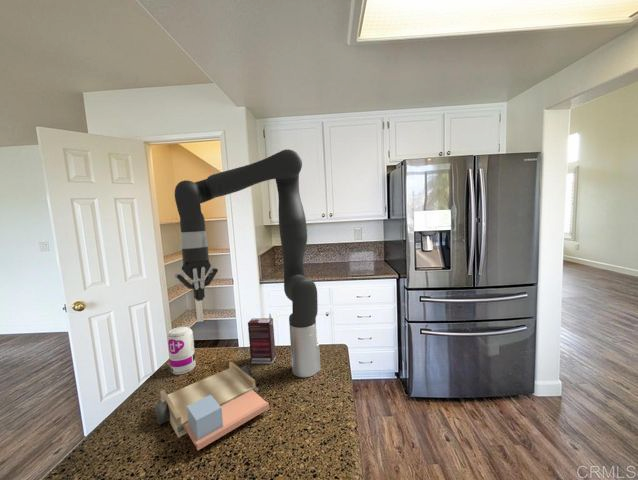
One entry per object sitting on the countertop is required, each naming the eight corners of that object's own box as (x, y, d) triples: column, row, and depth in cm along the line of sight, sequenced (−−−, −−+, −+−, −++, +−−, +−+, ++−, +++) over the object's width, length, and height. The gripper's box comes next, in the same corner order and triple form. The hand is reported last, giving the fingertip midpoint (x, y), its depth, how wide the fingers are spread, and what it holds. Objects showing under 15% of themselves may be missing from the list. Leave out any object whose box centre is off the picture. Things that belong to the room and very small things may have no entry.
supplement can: (186, 376, 96) (182, 335, 95) (165, 374, 98) (161, 334, 97) (200, 364, 104) (196, 325, 103) (181, 362, 106) (177, 325, 105)
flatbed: (239, 372, 97) (238, 358, 97) (265, 394, 84) (264, 378, 84) (152, 411, 79) (150, 395, 78) (168, 446, 66) (166, 427, 65)
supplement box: (276, 357, 106) (273, 317, 105) (272, 364, 101) (269, 322, 100) (254, 357, 107) (252, 317, 106) (250, 363, 103) (247, 322, 101)
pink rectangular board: (252, 389, 82) (268, 403, 75) (252, 393, 82) (269, 408, 75) (184, 424, 69) (197, 444, 62) (185, 429, 69) (197, 450, 62)
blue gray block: (212, 412, 73) (210, 394, 72) (223, 426, 67) (221, 407, 67) (188, 424, 69) (186, 406, 68) (198, 440, 63) (196, 420, 63)
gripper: (211, 243, 93) (215, 293, 94) (168, 247, 84) (173, 303, 85) (220, 244, 87) (224, 297, 89) (175, 249, 79) (180, 307, 80)
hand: (199, 300), depth 87 cm, fingers closed
